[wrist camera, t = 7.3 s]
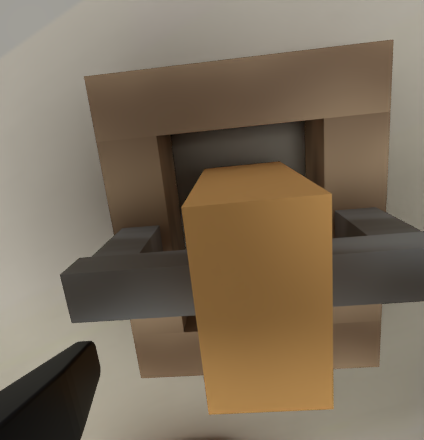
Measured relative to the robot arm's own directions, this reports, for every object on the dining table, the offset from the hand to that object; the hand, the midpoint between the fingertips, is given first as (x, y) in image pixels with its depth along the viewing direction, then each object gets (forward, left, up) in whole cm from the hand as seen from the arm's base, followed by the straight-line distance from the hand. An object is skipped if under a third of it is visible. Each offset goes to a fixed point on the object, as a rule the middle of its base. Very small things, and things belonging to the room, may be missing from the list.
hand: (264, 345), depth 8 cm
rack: (0, 0, -13) cm, 13 cm away
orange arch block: (0, 0, -10) cm, 10 cm away
